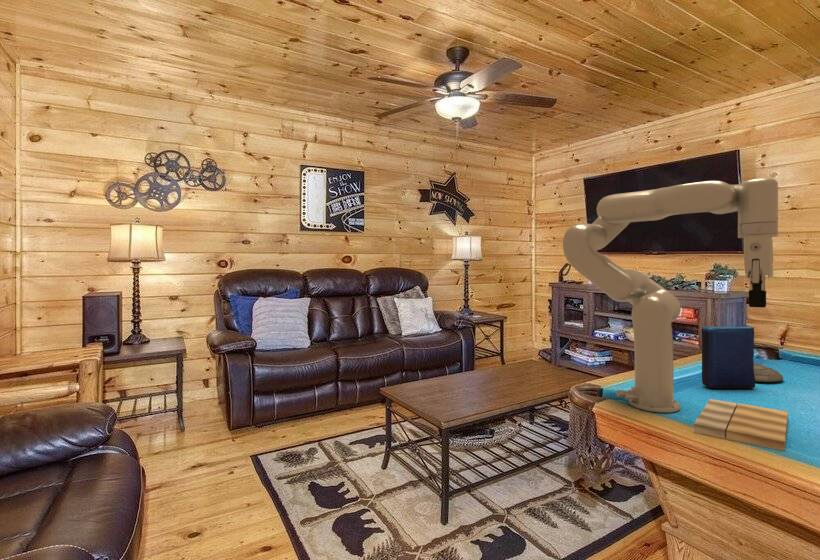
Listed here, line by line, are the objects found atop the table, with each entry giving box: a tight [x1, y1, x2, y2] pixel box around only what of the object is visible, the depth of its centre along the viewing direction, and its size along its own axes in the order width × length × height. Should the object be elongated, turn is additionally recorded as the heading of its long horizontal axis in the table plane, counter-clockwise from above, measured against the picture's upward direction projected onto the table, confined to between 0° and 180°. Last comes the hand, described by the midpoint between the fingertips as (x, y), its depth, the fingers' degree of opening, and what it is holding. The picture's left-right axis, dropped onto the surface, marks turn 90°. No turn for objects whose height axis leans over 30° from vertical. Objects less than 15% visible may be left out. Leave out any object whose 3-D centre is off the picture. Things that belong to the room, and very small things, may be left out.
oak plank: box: [725, 403, 789, 452], centre depth 103 cm, size 24×10×2 cm, turn 137°
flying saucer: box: [754, 362, 785, 383], centre depth 146 cm, size 15×15×6 cm
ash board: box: [693, 398, 738, 439], centre depth 109 cm, size 24×6×2 cm, turn 137°
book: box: [701, 324, 756, 389], centre depth 135 cm, size 14×5×20 cm, turn 84°
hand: (757, 306), depth 104 cm, fingers closed
